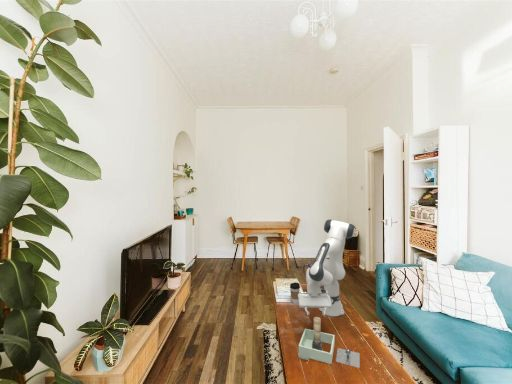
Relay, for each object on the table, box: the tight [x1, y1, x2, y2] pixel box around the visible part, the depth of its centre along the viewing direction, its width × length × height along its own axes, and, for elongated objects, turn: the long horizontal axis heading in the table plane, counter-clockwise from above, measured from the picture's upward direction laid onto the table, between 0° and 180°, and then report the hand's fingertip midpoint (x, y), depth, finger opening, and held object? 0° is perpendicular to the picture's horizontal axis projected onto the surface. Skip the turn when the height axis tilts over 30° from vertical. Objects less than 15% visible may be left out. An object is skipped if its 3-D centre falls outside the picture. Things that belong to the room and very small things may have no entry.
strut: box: [312, 316, 323, 351], centre depth 143 cm, size 5×5×19 cm
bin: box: [298, 328, 336, 365], centre depth 143 cm, size 18×18×7 cm
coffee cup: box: [289, 282, 301, 304], centre depth 204 cm, size 8×8×15 cm
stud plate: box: [335, 347, 361, 369], centre depth 137 cm, size 12×12×6 cm
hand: (316, 315), depth 150 cm, fingers open, 8 cm apart
